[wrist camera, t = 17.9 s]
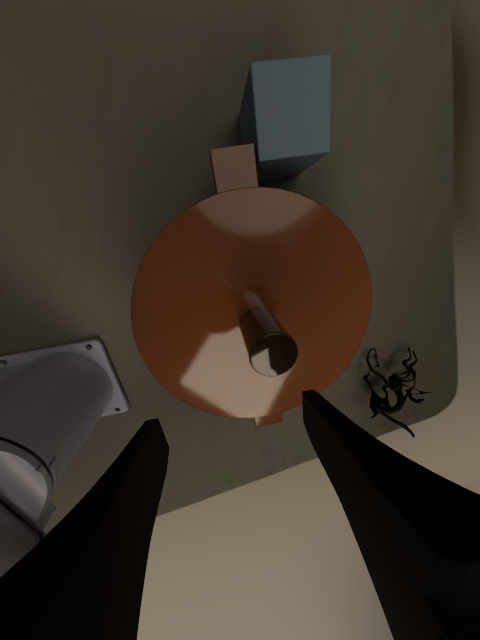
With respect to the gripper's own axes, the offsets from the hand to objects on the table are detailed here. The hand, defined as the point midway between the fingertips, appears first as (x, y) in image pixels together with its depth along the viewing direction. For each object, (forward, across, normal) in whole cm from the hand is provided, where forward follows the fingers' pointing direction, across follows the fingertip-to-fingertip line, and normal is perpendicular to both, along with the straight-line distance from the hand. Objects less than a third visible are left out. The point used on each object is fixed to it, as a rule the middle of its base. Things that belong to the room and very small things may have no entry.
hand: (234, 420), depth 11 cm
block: (+11, -6, -14) cm, 18 cm away
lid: (+5, -2, -3) cm, 6 cm away
